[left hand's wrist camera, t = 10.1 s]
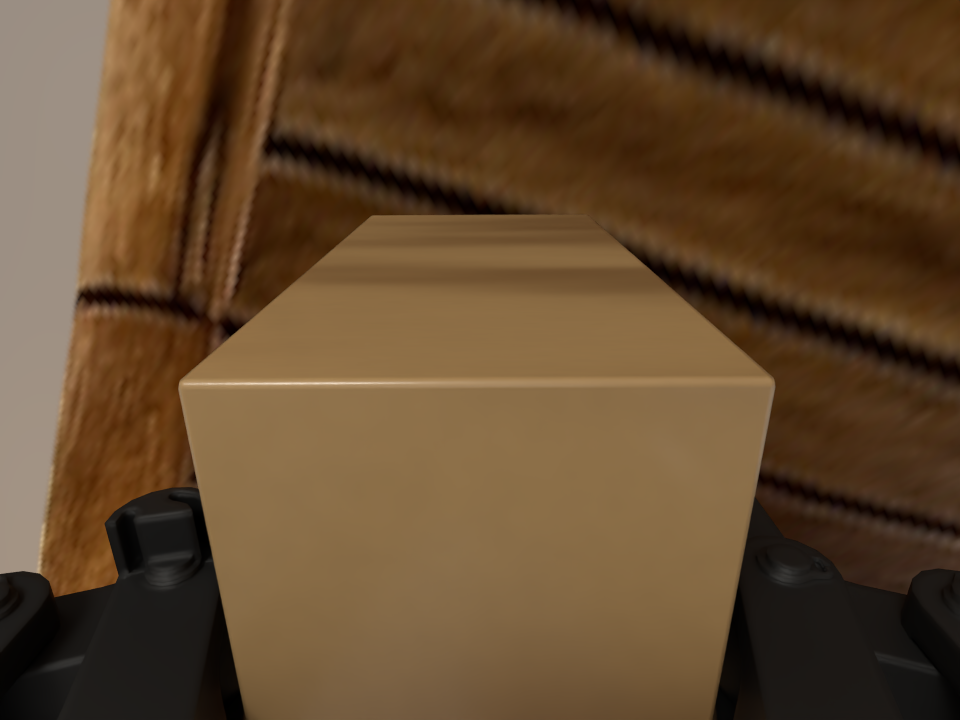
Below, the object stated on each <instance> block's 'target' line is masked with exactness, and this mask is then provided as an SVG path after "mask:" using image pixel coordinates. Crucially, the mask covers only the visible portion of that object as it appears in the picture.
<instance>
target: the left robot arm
mask: <svg viewBox="0 0 960 720" xmlns="http://www.w3.org/2000/svg"><path fill="white" fill-rule="evenodd" d="M105 527H106V531H107V534H108V538H109V542H110V545H111V549H112V553H113V556H114V560H115V564H116V567H117V571H118V574H119V577H118V579H117V581H116V583H115V584H111V585H108V586H104V587H101V588H96V589H91V590H87V591H82V592H77V593H73V594H68V595H63V596H59V597H54V595H53V592H52V589H51V586H50V583H49V581H48V580H47V579H46V578H44V577H43V576H42V575H41V574H38V573H32V572H25V571H21V572H13V573H5V574H0V720H246V717H245V712H244V707H243V702H242V697H241V692H240V688H239V683H238V678H237V673H236V668H235V663H234V658H233V653H232V649H231V644H230V639H229V634H228V629H227V624H226V619H225V614H224V609H223V605H222V600H221V595H220V590H219V585H218V580H217V575H216V570H215V566H214V561H213V556H212V551H211V546H210V541H209V536H208V531H207V526H206V522H205V517H204V512H203V507H202V502H201V497H200V492H199V489H197V488H192V487H181V488H169V489H164V490H160V491H155V492H151V493H149V494H146V495H144V496H141V497H139V498H136V499H134V500H131V501H130V502H128V503H127V504H125V505H124V506H122V507H121V508H119V509H118V510H116V511H115V512H114V513H113V514H112V515H111V517H110V518H109V519H108V520H107V521H106V522H105ZM713 720H960V571H953V570H945V569H932V570H926V571H921V572H920V573H919V574H918V575H916V576H915V577H914V578H913V579H912V582H911V585H910V588H909V591H908V594H907V595H905V594H900V593H895V592H891V591H886V590H881V589H877V588H872V587H867V586H863V585H858V584H855V583H851V582H848V581H844V580H843V578H842V575H841V574H840V573H839V571H838V570H837V568H836V567H835V566H834V564H833V563H832V562H831V561H830V560H829V559H827V558H826V557H825V556H823V555H822V554H821V553H820V552H818V551H817V550H815V549H813V548H811V547H809V546H807V545H804V544H802V543H800V542H798V541H795V540H791V539H787V538H784V536H783V535H782V534H781V532H780V531H779V529H778V528H777V527H776V525H775V524H774V523H773V521H772V520H771V518H770V517H769V516H768V514H767V513H766V512H765V510H764V509H763V507H762V506H761V505H760V503H759V502H758V501H757V499H756V498H755V497H754V502H753V508H752V513H751V518H750V524H749V529H748V534H747V539H746V545H745V550H744V555H743V561H742V566H741V571H740V577H739V582H738V587H737V593H736V598H735V603H734V608H733V614H732V619H731V624H730V630H729V635H728V640H727V646H726V651H725V656H724V662H723V667H722V672H721V677H720V683H719V688H718V693H717V699H716V704H715V709H714V715H713Z"/></svg>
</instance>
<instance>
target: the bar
mask: <svg viewBox="0 0 960 720" xmlns="http://www.w3.org/2000/svg"><path fill="white" fill-rule="evenodd" d="M178 390H179V395H180V400H181V404H182V409H183V414H184V419H185V424H186V429H187V434H188V439H189V443H190V448H191V453H192V458H193V463H194V468H195V473H196V478H197V483H198V487H199V492H200V497H201V502H202V507H203V512H204V517H205V522H206V526H207V531H208V536H209V541H210V546H211V551H212V556H213V561H214V566H215V570H216V575H217V580H218V585H219V590H220V595H221V600H222V605H223V609H224V614H225V619H226V624H227V629H228V634H229V639H230V644H231V649H232V653H233V658H234V663H235V668H236V673H237V678H238V683H239V688H240V692H241V697H242V702H243V707H244V712H245V717H246V720H713V715H714V709H715V704H716V699H717V693H718V688H719V683H720V677H721V672H722V667H723V662H724V656H725V651H726V646H727V640H728V635H729V630H730V624H731V619H732V614H733V608H734V603H735V598H736V593H737V587H738V582H739V577H740V571H741V566H742V561H743V555H744V550H745V545H746V539H747V534H748V529H749V524H750V518H751V513H752V508H753V502H754V497H755V492H756V486H757V481H758V476H759V471H760V465H761V460H762V455H763V449H764V444H765V439H766V433H767V428H768V423H769V417H770V412H771V407H772V402H773V396H774V391H775V381H774V378H773V377H772V376H771V375H770V374H769V373H767V372H766V371H765V370H764V369H763V368H762V367H761V366H759V365H758V364H757V363H756V362H755V361H754V360H753V359H752V358H750V357H749V356H748V355H747V354H746V353H745V352H744V351H742V350H741V349H740V348H739V347H738V346H737V345H736V344H734V343H733V342H732V341H731V340H730V339H729V338H728V337H726V336H725V335H724V334H723V333H722V332H721V331H720V330H718V329H717V328H716V327H715V326H714V325H713V324H712V323H710V322H709V321H708V320H707V319H706V318H705V317H704V316H702V315H701V314H700V313H699V312H698V311H697V310H696V309H694V308H693V307H692V306H691V305H690V304H689V303H688V302H686V301H685V300H684V299H683V298H682V297H681V296H680V295H678V294H677V293H676V292H675V291H674V290H673V289H672V288H670V287H669V286H668V285H667V284H666V283H665V282H664V281H662V280H661V279H660V278H659V277H658V276H657V275H656V274H654V273H653V272H652V271H651V270H650V269H649V268H648V267H646V266H645V265H644V264H643V263H642V262H641V261H640V260H638V259H637V258H636V257H635V256H634V255H633V254H632V253H630V252H629V251H628V250H627V249H626V248H625V247H624V246H622V245H621V244H620V243H619V242H618V241H617V240H616V239H614V238H613V237H612V236H611V235H610V234H609V233H608V232H607V231H605V230H604V229H603V228H602V227H601V226H600V225H599V224H597V223H596V222H595V221H594V220H593V219H592V218H591V217H589V216H588V215H586V214H582V215H393V216H371V217H370V218H368V219H367V220H366V221H365V222H364V223H363V224H361V225H360V226H359V227H358V228H357V229H356V230H354V231H353V232H352V233H351V234H350V235H349V236H347V237H346V238H345V239H344V240H343V241H342V242H340V243H339V244H338V245H337V246H336V247H335V248H334V249H332V250H331V251H330V252H329V253H328V254H327V255H325V256H324V257H323V258H322V259H321V260H320V261H318V262H317V263H316V264H315V265H314V266H313V267H311V268H310V269H309V270H308V271H307V272H306V273H304V274H303V275H302V276H301V277H300V278H299V279H297V280H296V281H295V282H294V283H293V284H292V285H290V286H289V287H288V288H287V289H286V290H285V291H284V292H282V293H281V294H280V295H279V296H278V297H277V298H275V299H274V300H273V301H272V302H271V303H270V304H268V305H267V306H266V307H265V308H264V309H263V310H261V311H260V312H259V313H258V314H257V315H256V316H254V317H253V318H252V319H251V320H250V321H249V322H247V323H246V324H245V325H244V326H243V327H242V328H240V329H239V330H238V331H237V332H236V333H235V334H233V335H232V336H231V337H230V338H229V339H228V340H227V341H225V342H224V343H223V344H222V345H221V346H220V347H218V348H217V349H216V350H215V351H214V352H213V353H211V354H210V355H209V356H208V357H207V358H206V359H204V360H203V361H202V362H201V363H200V364H199V365H197V366H196V367H195V368H194V369H193V370H192V371H190V372H189V373H188V374H187V375H186V376H185V377H183V378H182V379H181V380H180V383H179V389H178Z"/></svg>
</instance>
